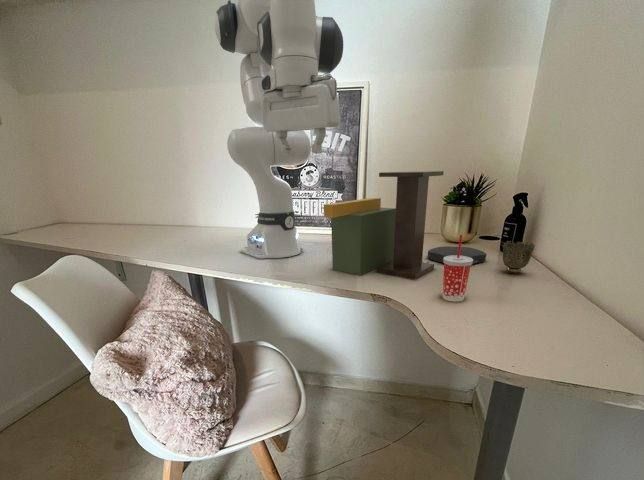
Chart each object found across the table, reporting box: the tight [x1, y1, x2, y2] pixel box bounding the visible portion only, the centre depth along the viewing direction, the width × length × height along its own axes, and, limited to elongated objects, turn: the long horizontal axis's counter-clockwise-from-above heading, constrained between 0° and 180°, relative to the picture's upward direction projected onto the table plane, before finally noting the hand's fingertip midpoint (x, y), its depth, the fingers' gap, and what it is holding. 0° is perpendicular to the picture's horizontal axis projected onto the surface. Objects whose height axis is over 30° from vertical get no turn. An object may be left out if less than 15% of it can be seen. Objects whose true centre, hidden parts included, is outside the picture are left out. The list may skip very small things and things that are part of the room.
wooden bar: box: [323, 197, 382, 219], centre depth 91 cm, size 3×22×3 cm, turn 141°
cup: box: [502, 240, 536, 275], centre depth 90 cm, size 8×7×8 cm
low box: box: [330, 207, 396, 276], centre depth 98 cm, size 10×18×16 cm, turn 142°
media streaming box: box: [427, 245, 487, 265], centre depth 105 cm, size 15×15×3 cm
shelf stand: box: [376, 170, 444, 281], centre depth 90 cm, size 12×12×26 cm
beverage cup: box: [442, 234, 473, 303], centre depth 72 cm, size 6×6×14 cm
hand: (301, 153), depth 74 cm, fingers open, 8 cm apart
